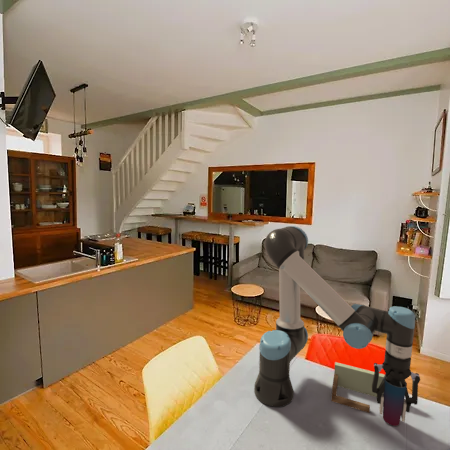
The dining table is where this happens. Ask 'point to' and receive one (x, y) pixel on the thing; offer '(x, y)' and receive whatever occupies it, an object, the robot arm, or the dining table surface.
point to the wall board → (356, 378)
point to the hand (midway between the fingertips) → (391, 415)
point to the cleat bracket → (345, 400)
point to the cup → (393, 401)
